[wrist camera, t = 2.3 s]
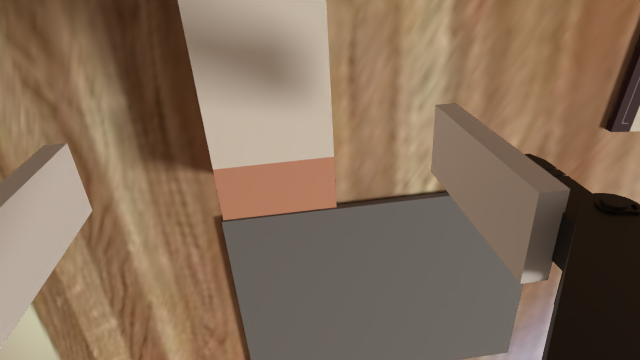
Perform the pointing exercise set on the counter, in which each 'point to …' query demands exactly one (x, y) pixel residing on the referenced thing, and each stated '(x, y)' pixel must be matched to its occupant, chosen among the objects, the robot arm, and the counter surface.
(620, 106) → the chocolate bar
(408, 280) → the mat
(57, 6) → the counter surface
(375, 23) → the counter surface
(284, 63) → the pink tipped block
